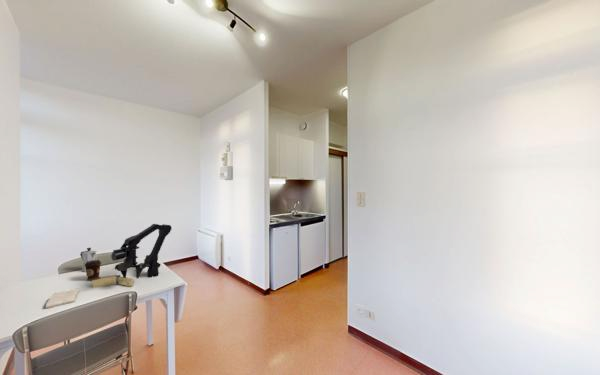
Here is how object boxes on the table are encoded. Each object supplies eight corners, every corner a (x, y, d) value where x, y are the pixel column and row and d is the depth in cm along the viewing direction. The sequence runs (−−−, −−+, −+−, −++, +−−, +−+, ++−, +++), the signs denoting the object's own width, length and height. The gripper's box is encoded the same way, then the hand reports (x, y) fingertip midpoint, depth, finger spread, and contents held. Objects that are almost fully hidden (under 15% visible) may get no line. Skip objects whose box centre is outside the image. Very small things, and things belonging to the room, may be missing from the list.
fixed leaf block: (117, 281, 156) (117, 274, 156) (115, 283, 153) (115, 276, 153) (94, 285, 151) (94, 278, 151) (92, 287, 147) (92, 280, 147)
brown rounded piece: (90, 282, 155) (90, 264, 155) (81, 281, 157) (81, 263, 156) (104, 277, 164) (103, 259, 163) (95, 276, 165) (94, 258, 165)
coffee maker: (101, 268, 179) (101, 246, 178) (88, 273, 170) (88, 250, 170) (87, 267, 182) (87, 245, 182) (74, 271, 173) (74, 248, 173)
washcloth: (80, 291, 144) (80, 286, 144) (75, 303, 130) (75, 297, 130) (53, 296, 136) (53, 292, 136) (45, 310, 122) (45, 304, 122)
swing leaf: (114, 284, 152) (114, 276, 152) (118, 282, 154) (118, 274, 154) (130, 287, 148) (130, 279, 148) (134, 285, 150) (134, 277, 150)
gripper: (107, 259, 146) (107, 283, 146) (134, 260, 145) (135, 283, 146) (121, 254, 157) (121, 276, 157) (147, 255, 156) (147, 276, 157)
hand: (131, 278), depth 154 cm, fingers open, 9 cm apart
